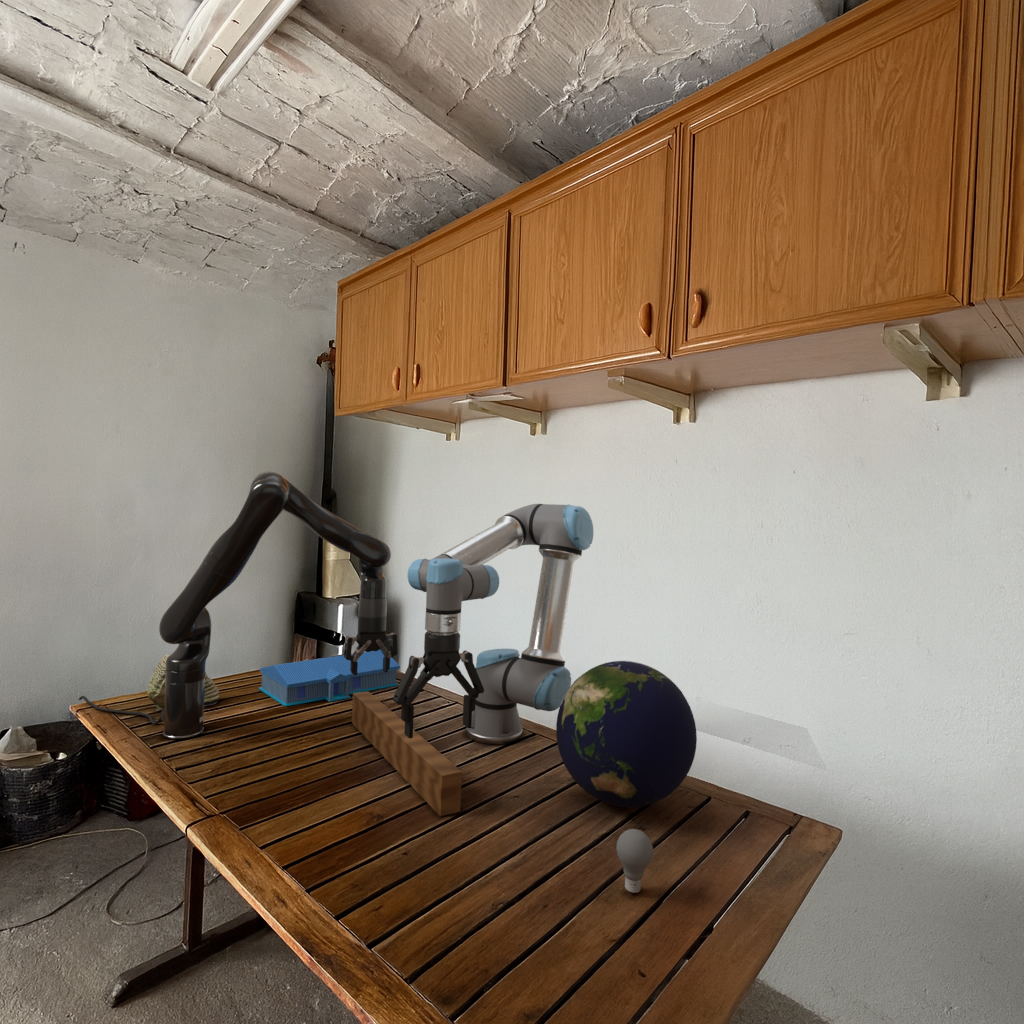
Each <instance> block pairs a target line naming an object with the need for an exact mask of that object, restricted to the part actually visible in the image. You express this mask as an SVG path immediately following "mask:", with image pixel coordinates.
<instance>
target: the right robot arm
mask: <svg viewBox="0 0 1024 1024" xmlns="http://www.w3.org/2000/svg"><path fill="white" fill-rule="evenodd" d="M593 541H594V524H593V521H592V517H591V515H590V513H589V512H588V510H586V508H584V507H582V506H580V505H572V504H554V503H553V504H551V503H550V504H549V503H548V504H547V503H532V504H528V505H525V506H524V505H523V506H522V507H519V508H516V509H514V510H512V511H510V512H508V513H506V514H503V515H502V516H500V517H498V518H497V520H496V521H495V523H494V524H493V525H492V526H490V527H487V528H486V529H484V530H482V531H480V532H479V533H476V534H475V535H473V536H471V537H470V538H468V539H466V540H464V541H462V542H461V543H459V544H457V545H455V546H453V547H451V548H449V549H448V550H446V551H444V552H443V553H441V554H439V555H437V556H435V557H433V558H431V559H428V558H418V559H415V560H413V561H412V562H411V563H410V565H409V567H408V569H407V581H408V584H409V585H410V587H411V588H412V589H413V590H416V591H421V592H423V593H426V597H425V598H426V599H425V619H424V630H425V631H426V632H425V633H424V639H423V640H424V641H423V644H424V645H423V650H424V652H423V655H422V656H421V657H420V656H414V655H410V656H409V658H408V666H407V668H406V670H405V671H404V674H403V676H402V678H401V680H400V683H398V685H397V686H398V687H397V688H396V691H395V693H394V695H393V697H392V701H393V702H394V703H395V704H397V705H398V706H401V712H400V719H401V720H402V721H404V722H405V731H404V734H405V735H406V736H407V737H408V738H413V730H414V717H415V715H414V714H415V706H414V705H413V703H414V701H415V700H416V698H417V697H418V696H419V694H420V693H421V692H422V691H423V689H424V688H425V686H426V685H428V682H429V681H431V680H432V679H433V678H439V677H443V676H444V677H450V675H452V676H453V677H454V678H455V680H456V681H457V682H458V683H459V685H460V686H461V687H462V689H463V690H464V691H465V693H467V694H463V705H462V710H463V711H462V725H463V726H464V727H465V728H466V736H467V737H468V738H469V739H470V740H472V741H475V742H478V743H481V744H486V745H507V744H512V743H515V742H518V741H519V740H520V739H522V738H523V725H522V722H521V719H520V714H519V711H518V705H521V706H526V707H530V708H532V709H535V710H537V711H544V712H554V711H556V710H559V708H560V705H561V702H562V700H563V698H564V696H565V694H566V692H567V691H568V689H569V688H570V686H571V685H572V676H571V675H572V674H571V671H570V670H569V669H568V668H567V667H566V666H565V664H566V658H565V657H564V656H563V654H562V647H563V640H564V633H565V629H566V622H567V615H568V607H569V602H570V595H571V588H572V584H573V583H572V582H573V576H574V570H575V569H574V568H575V564H576V562H577V561H579V560H580V559H582V555H583V551H586V550H588V549H589V548H590V547H591V545H592V543H593ZM522 546H538V552H539V554H540V555H541V557H542V561H541V562H542V563H541V568H540V569H541V570H540V574H539V580H538V587H537V594H536V599H535V605H534V612H533V617H532V624H531V630H530V634H529V635H530V636H529V642H528V646H527V647H526V648H525V649H523V651H521V654H520V651H519V650H518V649H515V648H493V649H487V650H483V651H481V652H480V653H479V654H477V657H476V665H475V664H474V656H473V653H472V652H470V651H468V650H466V649H465V650H463V651H462V652H460V648H461V634H460V633H459V632H460V631H461V626H462V625H461V624H462V623H461V622H462V606H463V605H462V604H463V602H466V601H467V602H468V601H472V600H473V601H474V600H484V599H486V598H489V597H492V596H493V595H495V594H496V593H497V591H498V590H499V588H500V576H499V573H498V571H497V570H496V568H495V567H493V565H492V566H491V565H489V564H486V563H488V562H490V561H491V560H492V559H494V558H496V557H498V556H499V555H501V554H503V553H504V552H506V551H507V550H515V549H518V548H520V547H522ZM520 655H521V656H520ZM460 661H461V662H462V663H463V666H464V668H465V670H466V673H467V675H468V678H469V679H470V682H471V684H472V685H471V684H470V682H469V681H468V680H467V678H466V677H465V676H464V675H463V674H462V671H461V670H460V669H459V668H458V667H457V666H458V665H459V663H460ZM422 665H423V666H424V667H423V668H422V669H421V671H420V673H419V675H418V676H417V678H416V679H415V677H416V675H417V673H418V670H419V668H421V666H422ZM414 680H415V681H414ZM413 681H414V682H413Z"/></svg>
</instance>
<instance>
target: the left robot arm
mask: <svg viewBox="0 0 1024 1024" xmlns="http://www.w3.org/2000/svg"><path fill="white" fill-rule="evenodd" d="M283 511H285V512H287V513H288V514H290V515H292V516H294V517H295V518H297V519H298V520H299V521H301V522H302V523H303V524H304V525H305V526H306V527H308V528H309V529H310V530H311V531H312V532H313V533H314V534H315V535H317V536H318V537H319V538H321V539H322V540H323V541H325V542H326V543H328V544H330V545H332V546H334V547H335V548H337V549H339V550H341V551H343V552H346V553H349V554H352V555H353V556H355V557H356V558H357V561H358V570H359V578H360V583H359V584H360V585H359V601H358V609H357V633H356V636H349V635H346V636H345V638H344V649H343V655H344V658H345V659H347V660H350V661H351V664H350V671H351V673H352V674H353V675H354V676H355V675H357V668H358V662H357V660H358V659H359V657H360V656H361V655H362V654H363V653H364V652H370V651H378V650H380V651H381V652H382V654H383V655H384V657H383V671H384V672H388V670H389V669H390V658H391V657H392V658H393V657H396V656H397V655H398V635H397V633H395V632H390V633H388V634H387V633H386V632H387V611H388V609H387V608H388V605H387V604H388V603H387V585H388V584H387V578H386V576H385V575H384V566H386V565H387V564H388V563H389V562H390V560H391V558H392V551H391V548H390V547H389V546H388V544H387V543H386V542H384V541H382V540H380V539H378V538H377V537H375V536H372V535H371V534H368V533H366V532H364V531H362V530H360V529H359V528H357V527H356V526H354V525H353V524H352V523H349V522H348V521H346V520H344V519H343V518H342V517H339V516H338V515H336V514H334V513H332V512H331V511H329V510H328V509H326V508H325V507H323V506H322V505H320V504H318V502H316V501H314V500H313V499H311V498H310V497H308V496H307V495H306V494H305V493H304V492H302V491H301V490H299V489H298V488H297V487H296V486H295V485H294V484H292V483H291V482H290V481H289V480H288V479H286V478H285V477H284V476H283V475H281V474H279V473H277V472H275V471H262V472H260V473H258V474H257V475H256V476H254V477H253V479H252V481H251V483H250V486H249V491H248V495H247V497H246V499H245V501H244V504H243V506H242V508H241V509H240V512H239V514H238V515H237V517H236V519H235V520H234V521H233V523H232V524H231V525H230V526H229V527H228V528H227V529H226V530H224V532H223V533H222V534H221V535H220V536H219V537H218V538H217V539H216V540H215V541H214V542H213V544H212V545H211V546H210V549H209V550H208V552H207V553H206V555H205V556H204V558H203V559H202V561H201V563H200V565H199V566H198V568H197V569H196V571H195V572H194V574H193V575H192V576H191V578H190V579H189V581H188V583H187V584H186V586H185V587H184V589H183V590H182V591H181V592H180V594H179V595H178V596H177V597H176V599H174V601H173V602H172V603H171V604H170V606H169V607H168V608H167V609H166V610H165V612H164V613H163V615H162V617H161V619H160V621H159V625H158V626H159V627H158V632H159V636H160V638H161V640H162V641H164V642H165V643H167V644H170V645H178V646H177V647H176V648H175V650H174V651H173V652H172V653H170V654H169V655H170V656H169V657H168V658H167V660H166V674H165V705H164V710H162V711H160V716H159V718H158V719H157V720H156V721H154V719H153V717H152V716H151V714H150V713H149V714H148V713H146V712H138V711H129V710H119V709H111V708H105V707H102V706H101V707H100V706H98V705H96V704H95V703H94V702H92V701H90V700H89V699H88V698H87V697H86V696H85V695H81V696H80V697H78V701H82V700H84V702H85V703H86V704H88V705H89V706H91V707H92V708H94V709H97V710H98V711H102V712H108V713H114V714H123V715H135V716H143V717H145V718H146V717H147V718H148V719H149V722H150V723H151V724H152V725H158V724H159V723H160V722H161V721H162V723H163V731H162V737H164V738H166V739H169V740H185V739H190V738H191V739H192V738H194V737H197V736H199V735H202V734H203V732H204V730H205V729H204V722H205V720H206V719H205V718H206V714H205V706H204V693H205V672H206V664H207V663H206V662H207V659H208V657H209V654H210V649H211V648H210V647H211V639H212V637H211V636H212V617H211V614H210V612H209V610H208V609H207V608H206V606H208V605H209V604H210V603H211V601H213V600H214V599H216V598H217V597H218V596H219V595H221V594H222V593H223V592H224V591H226V590H227V589H228V588H229V587H230V586H231V585H232V584H233V583H234V582H235V581H236V580H237V579H238V577H239V576H240V574H241V573H242V572H243V570H244V568H246V565H248V563H249V561H250V559H251V557H252V555H253V554H254V552H255V551H256V549H257V546H259V543H260V540H261V539H262V538H263V536H264V534H265V533H266V531H267V530H268V529H269V528H270V527H271V526H272V524H273V523H274V522H275V520H277V519H278V517H279V516H280V515H281V513H283ZM387 640H388V642H389V650H388V649H387V647H386V646H385V642H386V641H387ZM355 642H356V644H357V646H356V647H355V649H354V650H353V652H352V648H353V646H354V645H355ZM351 654H352V655H351Z"/></svg>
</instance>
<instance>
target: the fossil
mask: <svg viewBox="0 0 1024 1024" xmlns="http://www.w3.org/2000/svg"><path fill="white" fill-rule="evenodd" d="M170 655H171V654H165V655H164V656H163V657H162V658H161V659H160V660H159V662H158V663H157V666H156V667H155V669H154V670H153V672H152V675H151V677H150V680H149V684H148V688H147V697H148V699H149V700H150V701H152V703H153V704H154V706H155V711H158V712H159V711H160V712H161V711H164V705H165V674H166V660H167V658H168V657H169V656H170ZM220 698H221V696H220V690H219V688H218V686H217V685H216V683H215V682H214V681H213V679H212V678H211V677H209V675H208V674H207V672H206V671H205V693H204V707H207V706H213V705H215V704H217V703H218V701H219V699H220Z"/></svg>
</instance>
